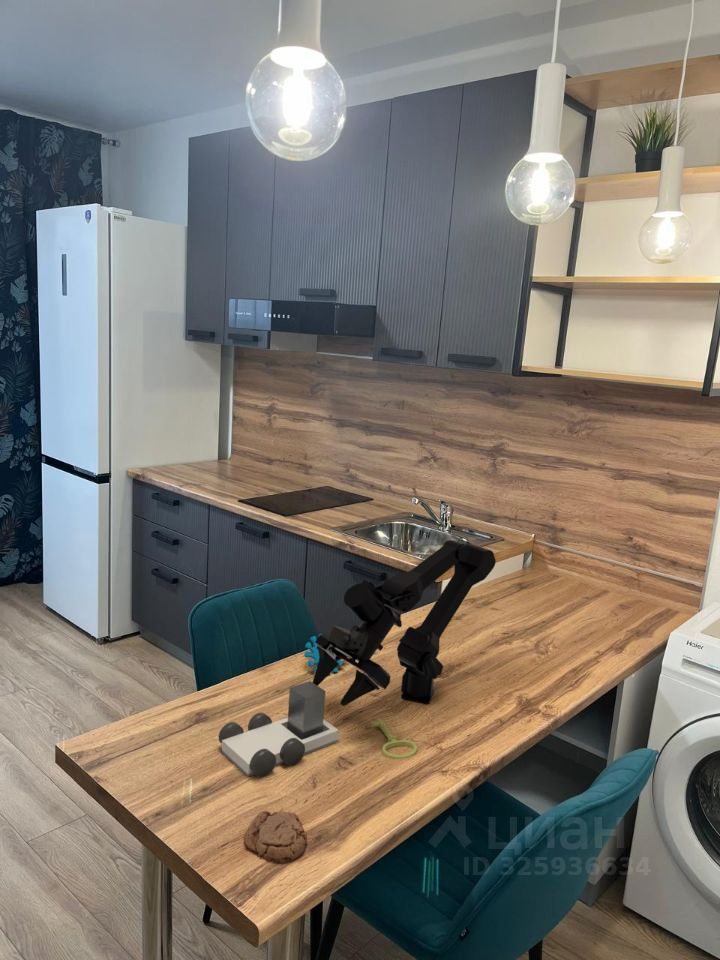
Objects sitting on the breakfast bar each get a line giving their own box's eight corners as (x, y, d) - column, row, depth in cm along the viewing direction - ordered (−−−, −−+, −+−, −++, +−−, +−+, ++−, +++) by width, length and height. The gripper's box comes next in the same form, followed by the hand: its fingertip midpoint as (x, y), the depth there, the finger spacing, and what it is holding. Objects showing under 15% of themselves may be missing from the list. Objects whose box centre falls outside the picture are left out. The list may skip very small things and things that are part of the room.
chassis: (304, 717, 152) (306, 697, 151) (342, 745, 143) (344, 724, 142) (217, 748, 139) (218, 726, 138) (253, 781, 130) (254, 757, 129)
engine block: (307, 726, 148) (310, 681, 146) (322, 737, 144) (325, 691, 142) (286, 733, 145) (289, 687, 143) (301, 745, 141) (304, 698, 139)
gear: (308, 673, 169) (303, 632, 174) (299, 681, 173) (294, 641, 178) (351, 673, 174) (345, 633, 179) (341, 681, 178) (335, 642, 183)
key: (379, 726, 152) (379, 716, 152) (421, 754, 143) (422, 744, 143) (353, 736, 147) (353, 727, 147) (395, 766, 138) (396, 756, 138)
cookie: (275, 874, 108) (276, 856, 108) (231, 838, 115) (232, 821, 115) (323, 843, 116) (324, 827, 115) (278, 811, 123) (279, 795, 122)
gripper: (324, 597, 153) (278, 658, 148) (384, 627, 140) (335, 696, 135) (350, 624, 160) (307, 683, 155) (410, 656, 146) (365, 722, 142)
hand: (327, 695), depth 146 cm, fingers open, 9 cm apart
